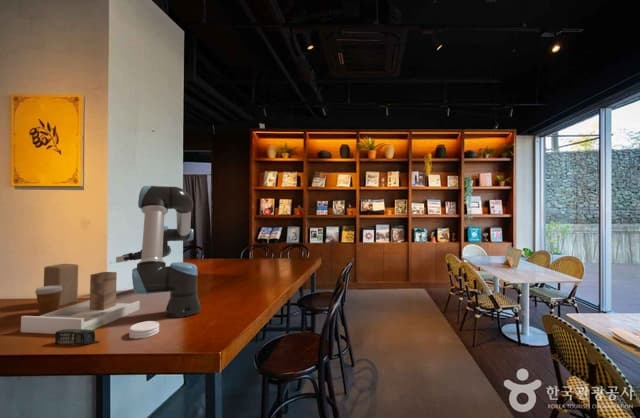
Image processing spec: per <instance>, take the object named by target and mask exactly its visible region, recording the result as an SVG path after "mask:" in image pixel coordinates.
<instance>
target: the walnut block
mask: <svg viewBox="0 0 640 418" xmlns="http://www.w3.org/2000/svg"><path fill="white" fill-rule="evenodd" d="M117 274H118V273H117V271H102V272H97V273H93V274H92V273H91V274H90V276H89V277H90V279H89V281H90V282H89V283H90V284H89V285H90V286H89V300H90V310H106V309H108V308H111V307H114V306H116V303H117Z"/></svg>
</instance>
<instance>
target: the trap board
mask: <svg viewBox="0 0 640 418" xmlns="http://www.w3.org/2000/svg"><path fill="white" fill-rule="evenodd" d="M140 308H141V307H140V300H136V301H134V302H131V303H122V302H121V303H119V302H118V303H117V302H116V306H114V307H111V308H108V309H106V310H90V299H87V300H84V301H81V302H78V303H75V304H72V305H69V306H66V307H62V308H58V310H56V311H53V312H50V313H47V314H44V315H38V316H37V315H36V316H35V315H34V316H33V315H22V316H20V333H33V334H34V333H35V334H49V335H50V334H51V335H52V334H53V335H55V333H56V332H57V331H60V330H66V329H85V330H93V331H94V330H96V329H98V328H100V327H102V326H105V325H107V324H109V323H112V322H113V321H116V320H119V319H121V318H122V317H125V316H127V315H129V314H132V313H134V312H136V311H138V310H140Z"/></svg>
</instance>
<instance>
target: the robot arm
mask: <svg viewBox="0 0 640 418" xmlns="http://www.w3.org/2000/svg"><path fill="white" fill-rule="evenodd" d="M137 206H138V208H139V209H140V210H141V212H142V213H143V214H144V217H143V218H144V219H143V220H144V221H143V222H144V223H143V231H142V232H143V234H142V242H141V243H142V245H141V249H140V251H137V252H129V253H126V254H123V255H121V256H116V257H115V263H125V262H128V261H138V260H139V262H138V263H136V267H134V268H133V269H132V270H131V271H132V273H131V279H132V287H133V291H134V293H135V294H137V295H149V294H156V293H157V294H159V293H169V299H168V302H167V305H166V308H165V314H164V315H165V316H166V317H167V318H173V317H174V318H175V317H179V318H185V317H184V316H187V317H190V316H189V315H191V316H193V315H192V314H195V313H197V312H199V311H200V310H201V309H202V308H201V307H202V306H201V302H200V300H199V297H198V275H199V274H198V266H197V265H196V264H194V263H192V262H191V263H190V262H182V261H181V262H179V261H178V262H176V261H175V262H171V263H170V265H167V264H166V261H164V260H163V258H166V257H168V256H170V254H171V252H172V248H171V246H170V245H169V242H178V241H179V242H183V241H185V242H188V241H193V240H194V228H191V226H192V225H191V221H192V211H193V209H194V201H193V198H192V197H191V195H190V194H189V193H188V192H187V191H186V190H184V189H183V188H182V187H178V186H161V185H160V186H159V185H144V186H142V187H141V189H140V191H139V195H138V202H137ZM172 209H173V210H175V212H176V228H169V226H167V225H165V215H166V214H168V211H169V210H172ZM200 312H201V311H200ZM200 312H199V313H200ZM197 314H198V313H197ZM195 315H196V314H195ZM174 318H173V319H174ZM175 319H176V318H175Z"/></svg>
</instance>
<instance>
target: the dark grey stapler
mask: <svg viewBox="0 0 640 418" xmlns="http://www.w3.org/2000/svg"><path fill="white" fill-rule="evenodd" d="M54 335H55V340H54V341H55V342H54V344H56V345H76V346H84V345H89V344H99V343H100V340H96V332H95V331H94V330H85V329H66V330H60V331H57V332H56V333H55V334H54Z"/></svg>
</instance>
